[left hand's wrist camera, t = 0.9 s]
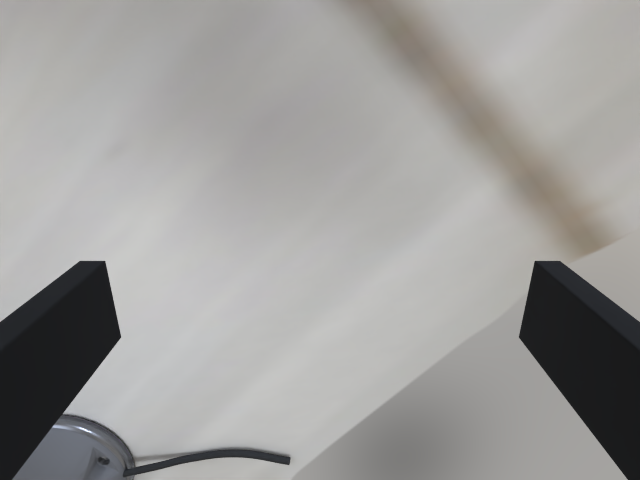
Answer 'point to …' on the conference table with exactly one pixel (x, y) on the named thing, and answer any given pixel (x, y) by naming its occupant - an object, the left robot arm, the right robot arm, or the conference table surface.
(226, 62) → the conference table surface
